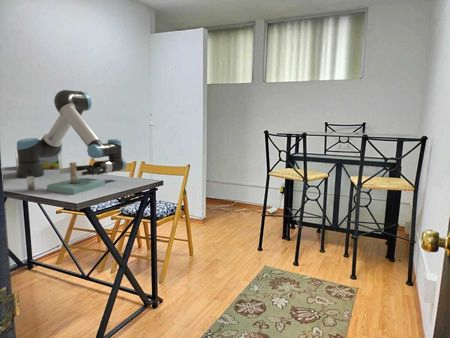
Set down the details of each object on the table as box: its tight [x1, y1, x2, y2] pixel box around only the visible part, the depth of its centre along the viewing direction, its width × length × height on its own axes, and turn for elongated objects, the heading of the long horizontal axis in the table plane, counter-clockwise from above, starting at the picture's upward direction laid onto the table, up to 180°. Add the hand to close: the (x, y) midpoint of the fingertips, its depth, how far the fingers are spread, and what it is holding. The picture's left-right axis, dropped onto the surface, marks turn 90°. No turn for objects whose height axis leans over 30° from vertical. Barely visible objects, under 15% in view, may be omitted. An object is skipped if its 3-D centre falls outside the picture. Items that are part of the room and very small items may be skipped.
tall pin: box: [69, 162, 78, 185], centre depth 169 cm, size 3×3×14 cm
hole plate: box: [46, 177, 106, 195], centre depth 171 cm, size 18×22×3 cm
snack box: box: [40, 152, 63, 170], centre depth 227 cm, size 21×6×15 cm, turn 90°
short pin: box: [26, 176, 36, 191], centre depth 165 cm, size 3×3×7 cm
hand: (67, 172), depth 165 cm, fingers open, 13 cm apart
